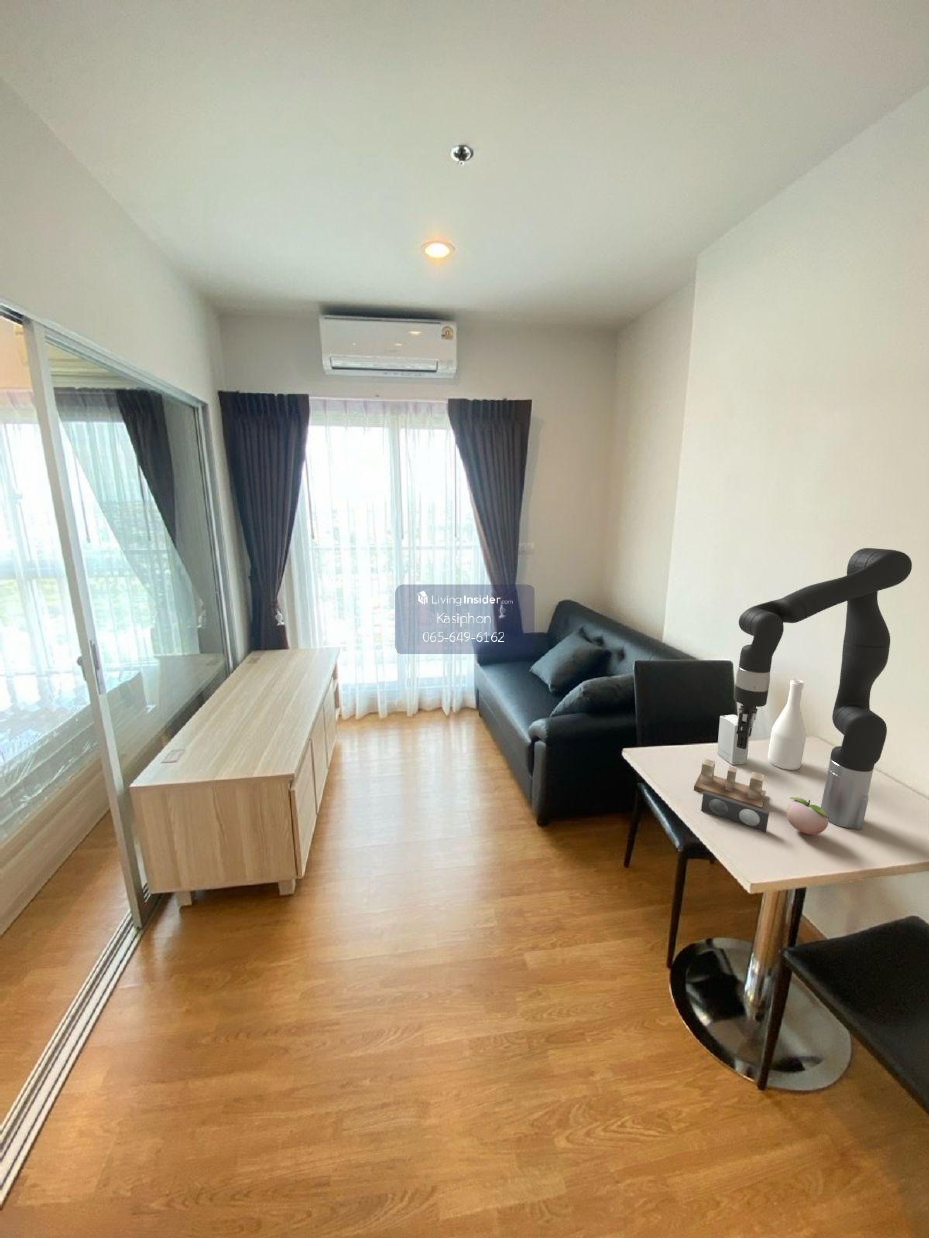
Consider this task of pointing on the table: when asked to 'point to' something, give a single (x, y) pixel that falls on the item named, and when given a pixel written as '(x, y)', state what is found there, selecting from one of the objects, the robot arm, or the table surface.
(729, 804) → the dark flat rectangular bar
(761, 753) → the table surface
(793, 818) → the decorative fruit
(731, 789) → the wooden peg rack
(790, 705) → the wine bottle
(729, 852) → the table surface
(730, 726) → the skincare box
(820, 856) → the table surface
